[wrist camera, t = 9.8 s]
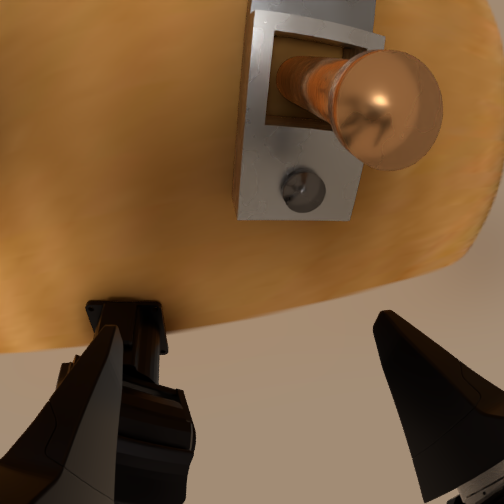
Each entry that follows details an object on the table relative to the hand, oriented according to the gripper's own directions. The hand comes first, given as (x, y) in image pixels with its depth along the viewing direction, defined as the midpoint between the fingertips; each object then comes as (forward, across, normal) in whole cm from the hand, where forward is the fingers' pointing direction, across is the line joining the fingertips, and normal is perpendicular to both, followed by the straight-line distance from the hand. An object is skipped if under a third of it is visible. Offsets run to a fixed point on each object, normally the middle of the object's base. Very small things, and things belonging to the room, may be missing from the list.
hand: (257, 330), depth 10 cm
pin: (+12, -4, -7) cm, 14 cm away
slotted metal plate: (+12, -4, -7) cm, 14 cm away
